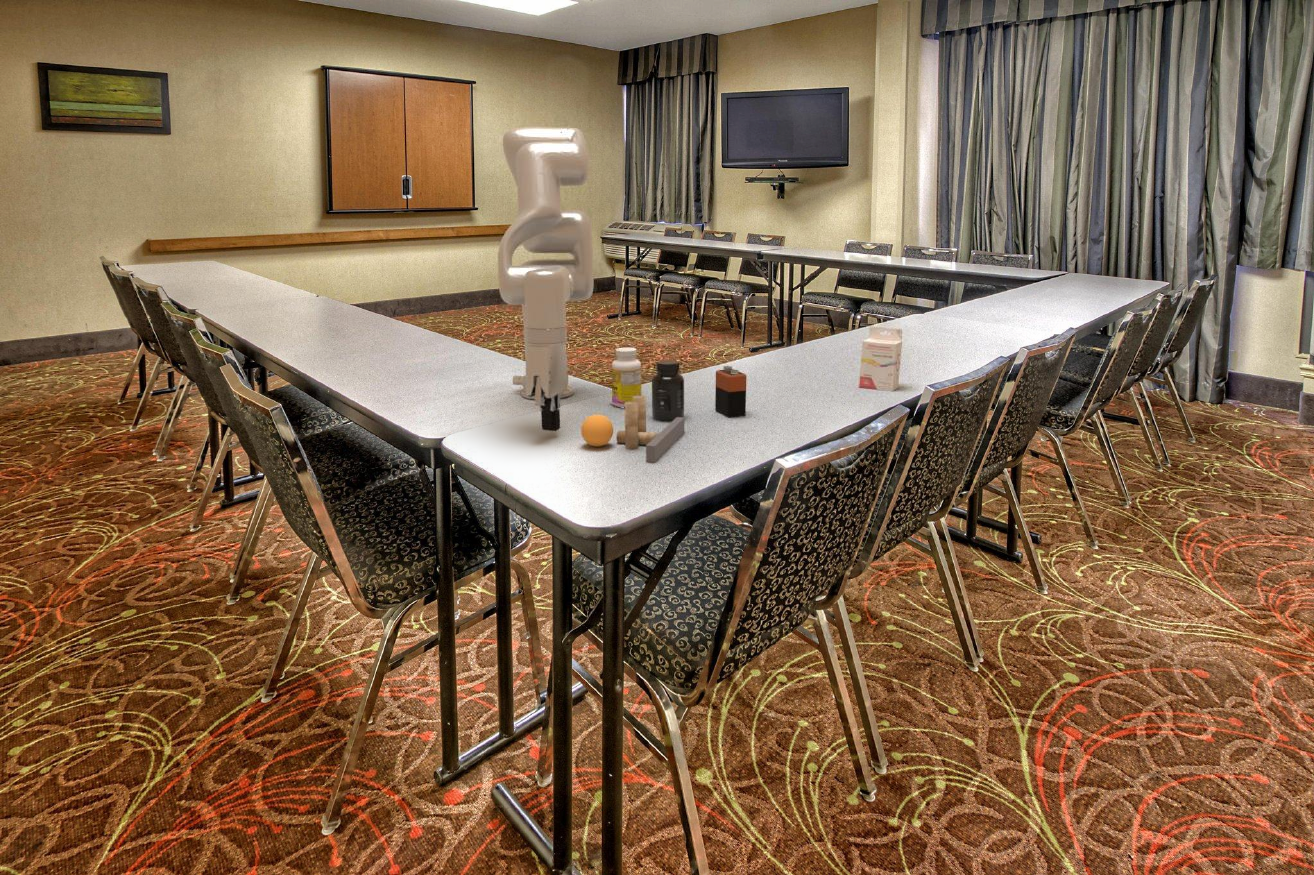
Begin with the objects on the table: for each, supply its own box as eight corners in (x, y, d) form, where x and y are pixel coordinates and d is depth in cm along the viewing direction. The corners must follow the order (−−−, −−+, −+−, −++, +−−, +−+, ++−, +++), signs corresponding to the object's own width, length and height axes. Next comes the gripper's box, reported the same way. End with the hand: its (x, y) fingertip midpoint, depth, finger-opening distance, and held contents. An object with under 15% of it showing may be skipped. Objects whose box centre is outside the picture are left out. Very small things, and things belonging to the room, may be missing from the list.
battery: (732, 408, 174) (733, 364, 171) (746, 416, 167) (747, 370, 165) (714, 410, 172) (714, 366, 169) (728, 418, 166) (729, 372, 163)
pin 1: (623, 448, 145) (622, 404, 143) (627, 445, 148) (627, 401, 145) (635, 449, 145) (635, 405, 142) (640, 446, 147) (639, 402, 145)
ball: (608, 453, 145) (585, 452, 148) (624, 431, 148) (602, 430, 152) (592, 430, 141) (569, 430, 145) (609, 407, 144) (586, 407, 148)
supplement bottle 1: (612, 402, 180) (610, 346, 177) (640, 401, 181) (640, 346, 177) (612, 409, 174) (611, 352, 170) (642, 408, 174) (641, 351, 171)
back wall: (646, 461, 138) (646, 445, 137) (676, 431, 156) (676, 417, 155) (654, 462, 137) (654, 446, 137) (684, 432, 156) (684, 417, 155)
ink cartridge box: (858, 387, 193) (862, 328, 189) (864, 384, 197) (868, 325, 193) (892, 391, 188) (897, 330, 184) (898, 388, 192) (903, 328, 188)
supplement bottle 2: (645, 418, 166) (645, 363, 162) (663, 412, 171) (663, 357, 168) (672, 423, 162) (672, 366, 159) (690, 416, 168) (690, 361, 164)
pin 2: (632, 441, 150) (631, 398, 148) (636, 437, 152) (635, 395, 150) (644, 442, 149) (643, 398, 147) (648, 438, 152) (647, 396, 149)
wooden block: (616, 432, 148) (659, 435, 145) (620, 429, 150) (663, 432, 148) (616, 444, 148) (659, 447, 146) (620, 441, 151) (663, 444, 148)
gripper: (545, 329, 156) (549, 418, 161) (510, 341, 142) (516, 438, 147) (580, 331, 154) (583, 421, 159) (548, 343, 140) (552, 441, 145)
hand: (551, 429), depth 153 cm, fingers closed
